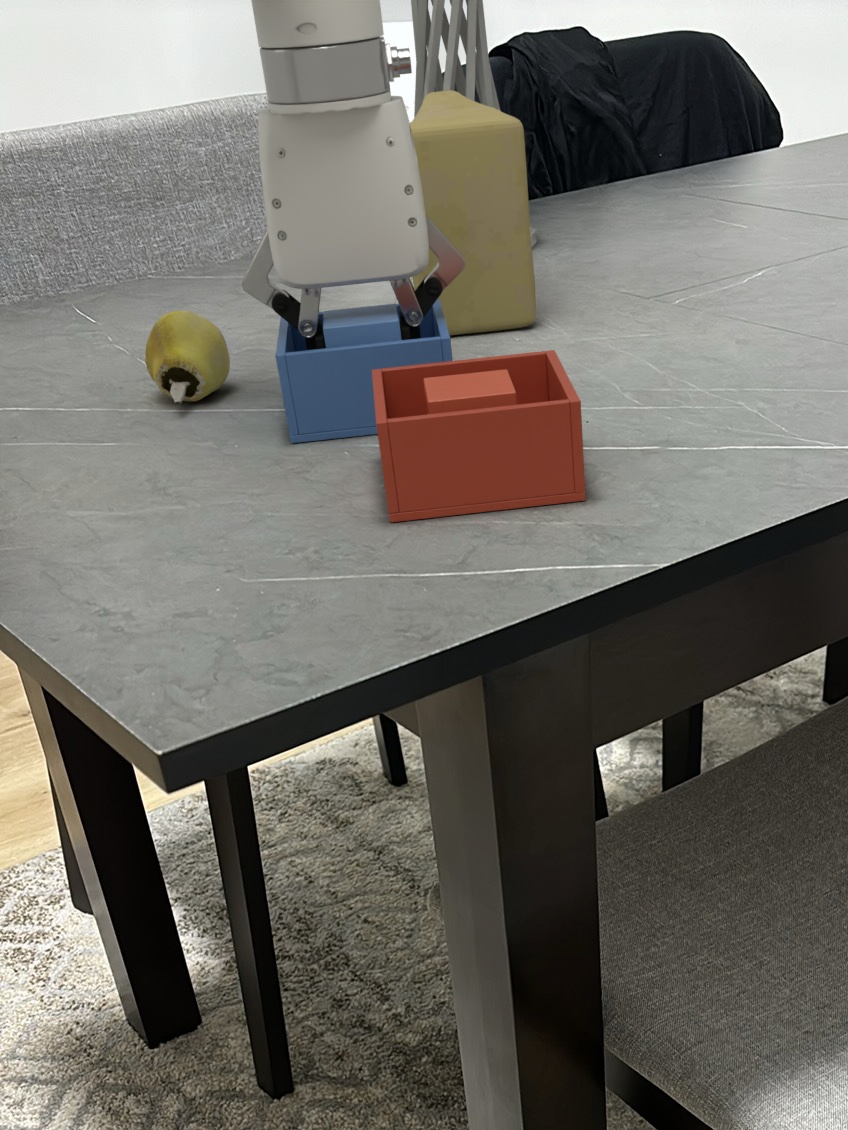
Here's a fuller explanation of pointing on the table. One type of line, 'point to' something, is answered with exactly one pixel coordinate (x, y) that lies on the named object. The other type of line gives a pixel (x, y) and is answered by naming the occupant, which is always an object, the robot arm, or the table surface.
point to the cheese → (477, 210)
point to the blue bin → (347, 377)
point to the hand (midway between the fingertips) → (370, 386)
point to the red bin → (479, 441)
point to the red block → (469, 391)
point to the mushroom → (186, 356)
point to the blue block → (361, 325)
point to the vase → (453, 54)
